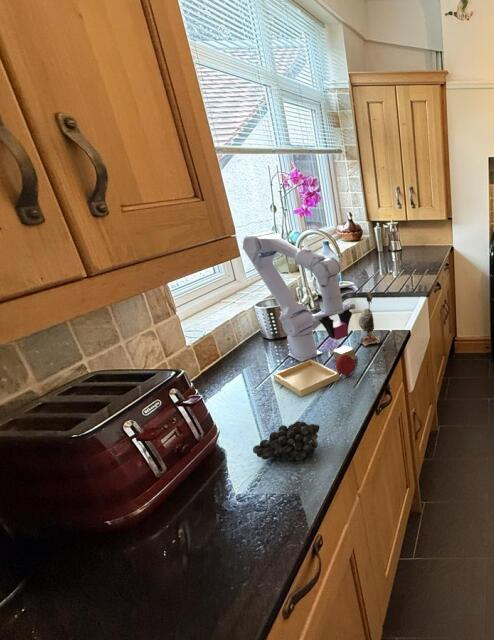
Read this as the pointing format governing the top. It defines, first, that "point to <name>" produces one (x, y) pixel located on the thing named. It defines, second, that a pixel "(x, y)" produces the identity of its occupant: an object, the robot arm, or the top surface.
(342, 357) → the onion
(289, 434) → the fruit
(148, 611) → the top surface
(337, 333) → the mulberry block
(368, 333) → the grey figurine
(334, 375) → the tray
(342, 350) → the ash block
